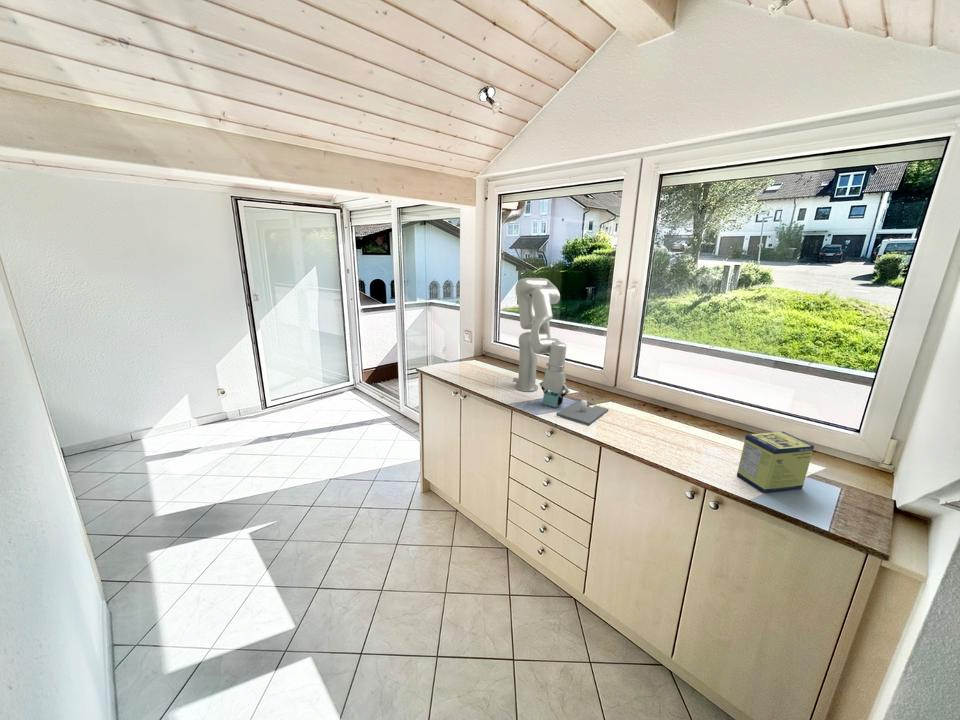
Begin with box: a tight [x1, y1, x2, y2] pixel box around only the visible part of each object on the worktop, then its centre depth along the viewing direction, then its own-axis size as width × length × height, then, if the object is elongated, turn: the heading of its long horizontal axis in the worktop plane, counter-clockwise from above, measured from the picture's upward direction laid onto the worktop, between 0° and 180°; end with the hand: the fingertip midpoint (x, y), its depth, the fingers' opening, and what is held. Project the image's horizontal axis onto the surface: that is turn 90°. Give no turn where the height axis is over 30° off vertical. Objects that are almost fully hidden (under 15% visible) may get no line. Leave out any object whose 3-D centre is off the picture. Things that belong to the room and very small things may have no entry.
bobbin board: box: [555, 399, 609, 426], centre depth 175 cm, size 16×22×6 cm
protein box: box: [736, 431, 815, 494], centre depth 122 cm, size 10×16×16 cm
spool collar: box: [542, 390, 560, 408], centre depth 184 cm, size 7×7×5 cm
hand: (552, 401), depth 185 cm, fingers closed on spool collar, 7 cm apart
